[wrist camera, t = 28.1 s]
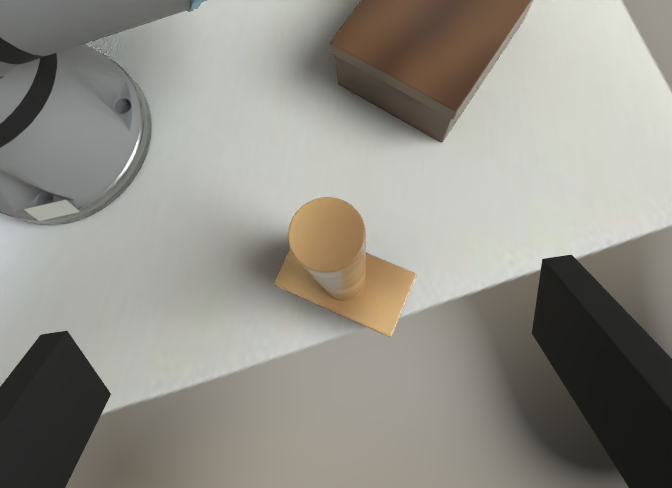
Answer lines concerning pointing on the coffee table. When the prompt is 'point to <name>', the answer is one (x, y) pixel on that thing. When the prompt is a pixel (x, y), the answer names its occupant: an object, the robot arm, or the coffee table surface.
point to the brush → (342, 267)
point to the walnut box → (424, 55)
